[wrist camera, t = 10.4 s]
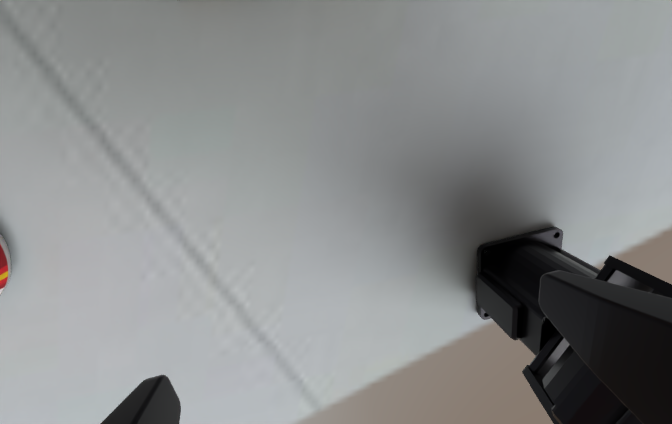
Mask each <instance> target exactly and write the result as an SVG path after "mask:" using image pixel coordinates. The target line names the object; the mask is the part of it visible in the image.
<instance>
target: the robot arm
mask: <svg viewBox="0 0 672 424" xmlns="http://www.w3.org/2000/svg"><path fill="white" fill-rule="evenodd" d="M562 238H563V231H562V230H561V229H559V228H557V227H551V228H547V229H543V230H539V231H535V232H531V233H527V234H523V235H518V236H514V237H510V238H506V239H502V240H498V241H494V242H490V243H486V244H483V245H481V246H480V247H479V248H478V252H477V256H478V274H477V276H476V285H477V304H478V315H479V316H480V317H481V318H482V319H484V320H486V319H490V318H492V319H493V320H494V321H495V322H496V323H497V324H498V325H499V326H500V327H501V328H502V329H503V330H504V331H505V333H507V334H508V335H509V337H510V338H512V339H513V340H518V339H520V340H521V341H522V342H523V343H524V344H525V345H526V346H527V347H528V348H529V349H530V350H531V351H532V352H533V353H534V354H535V355H536V357H535V358H534V360H533V361H532V362H531V364H530V365H527V366H526V367H525V369H524V370H523V371H522V372H523V374H524V376H525V377H526V379H527V381H528V382H529V384H530V386H531V388H532V389H533V391H534V393H535V394H536V396H537V397H538V399H539V401H540V402H541V404H542V405H543V407H544V409H545V410H546V412H547V414H548V415H549V417H550V418H551V420H552V421H553V423H554V424H672V285H671V284H669V283H667V282H665V281H663V280H660V279H659V278H656V277H654V276H652V275H650V274H648V273H646V272H644V271H641V270H640V269H637V268H635V267H633V266H631V265H629V264H627V263H625V262H623V261H620V260H618V259H616V258H614V257H612V256H609V257H608V258H607V260H606V261H605V262H604V264H605V265H604V267H603V268H602V269H601V270H599V269H597V268H595V267H593V266H592V265H590V264H588V263H586V262H584V261H582V260H580V259H579V258H577V257H575V256H573V255H571V254H569V253H567V252H566V251H564V250H562V249H561V248H562ZM485 250H487V251H486V252H485ZM484 252H485V253H484ZM485 312H486V313H485ZM180 412H181V406H180V401H179V398H178V396H177V394H176V392H175V390H174V388H173V386H172V384H171V382H170V380H169V378H168V377H167V376H165V375H159V376H156V377H152V378H148V379H146V380H144V381H143V382H142V383H140V384H139V385H138V387H137V388H136V389H135V390H134V391H133V392H132V393H131V394H130V395H129V396H128V397H127V398H126V399H125V400H124V401H123V402H122V403H121V404H120V405H119V406H118V407H117V408H116V409H115V410H114V411H113V412H112V413H111V414H110V415H109V416H108V417H107V418H106V419H105V420H104V421H103V422H102V423H101V424H179V420H180Z"/></svg>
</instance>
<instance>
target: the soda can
mask: <svg viewBox="0 0 672 424" xmlns="http://www.w3.org/2000/svg"><path fill="white" fill-rule="evenodd" d="M10 276H11V260H10V253H9V249H8V246H7V244H6V242H5V240H4V238H3V237H2V235H1V234H0V295H1V294H2V292H3V291H4V289H5V288H6V286H7V284H8V282H9V280H10Z"/></svg>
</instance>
